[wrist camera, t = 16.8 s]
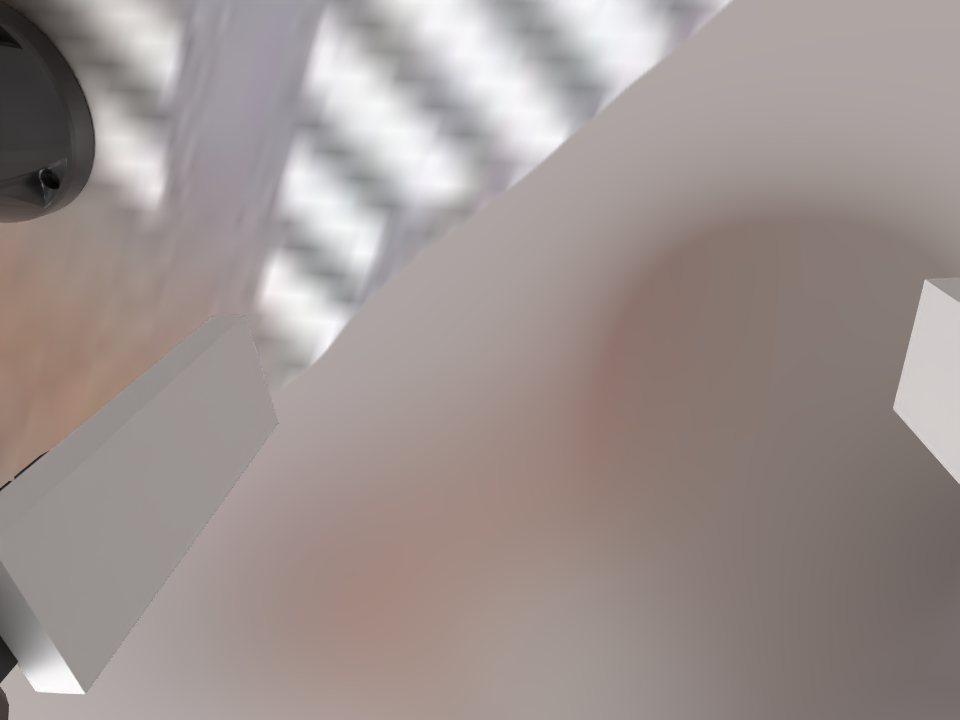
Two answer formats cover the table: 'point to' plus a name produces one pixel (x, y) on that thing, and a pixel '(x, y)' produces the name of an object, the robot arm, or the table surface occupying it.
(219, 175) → the table surface
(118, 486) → the robot arm
